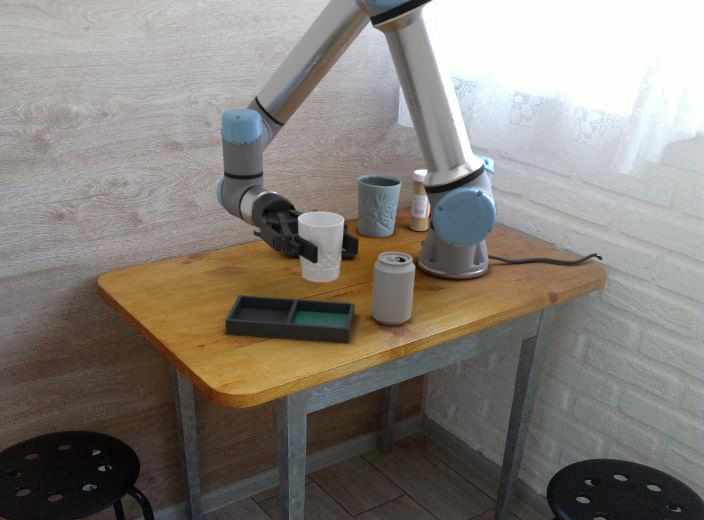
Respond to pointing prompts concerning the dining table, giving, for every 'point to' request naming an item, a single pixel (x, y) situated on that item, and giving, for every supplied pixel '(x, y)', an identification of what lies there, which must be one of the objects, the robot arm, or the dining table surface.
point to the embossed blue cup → (377, 204)
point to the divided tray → (291, 318)
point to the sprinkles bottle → (419, 203)
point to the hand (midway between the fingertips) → (336, 251)
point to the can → (393, 288)
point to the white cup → (322, 244)
